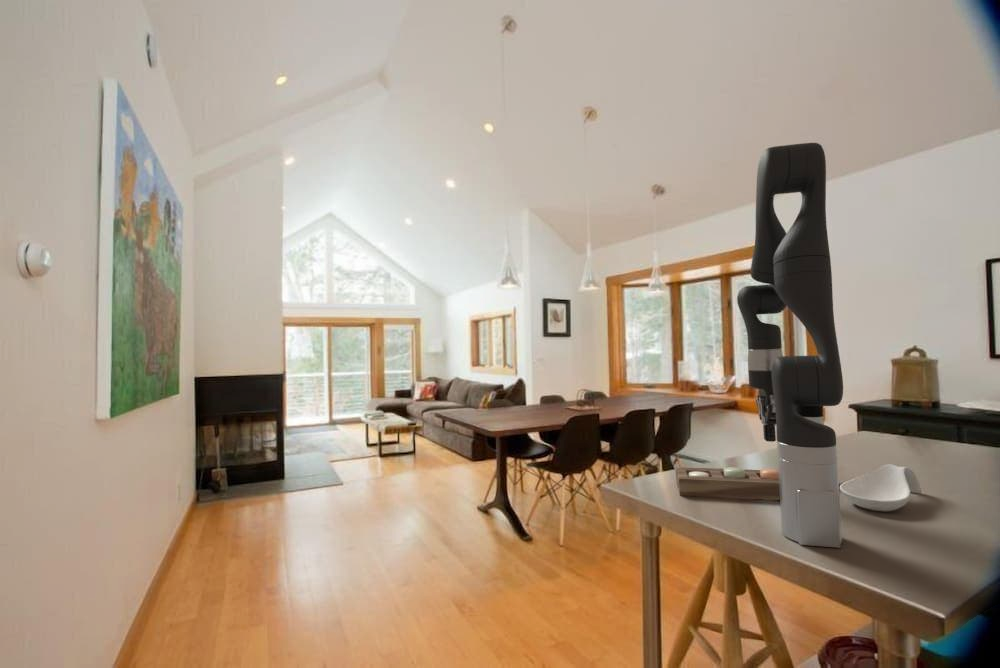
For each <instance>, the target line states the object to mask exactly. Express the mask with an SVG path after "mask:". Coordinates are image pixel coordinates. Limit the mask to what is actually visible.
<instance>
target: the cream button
mask: <svg viewBox="0 0 1000 668" xmlns="http://www.w3.org/2000/svg"><path fill="white" fill-rule="evenodd" d="M689 476H698V477H709V474H708V473H705V472H690V473H689Z"/></svg>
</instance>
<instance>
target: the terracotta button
mask: <svg viewBox="0 0 1000 668" xmlns="http://www.w3.org/2000/svg"><path fill="white" fill-rule="evenodd" d="M759 470H760V477H761V479H772V480H779V473H778V469H773V468H762V469H759Z"/></svg>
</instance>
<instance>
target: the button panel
mask: <svg viewBox="0 0 1000 668" xmlns="http://www.w3.org/2000/svg"><path fill="white" fill-rule="evenodd" d="M744 470H745V478H724V468H712V467H710V468H708V467H686V466H685V467H680V466H676V467H675V480H676V481H675V482H676V485H677V486H676V487H677V490H678V494H679V496H680V497H681V496H682V497H700V498H701V497H702V498H717V499H719V498H720V499H737V500H738V499H740V500H754V499H763V500H762V501H773V500H780V491H779V480H772V479H761V477H760V470H761V469H744ZM690 472H705V473H708V474H709V477H698V476H689V473H690Z"/></svg>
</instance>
